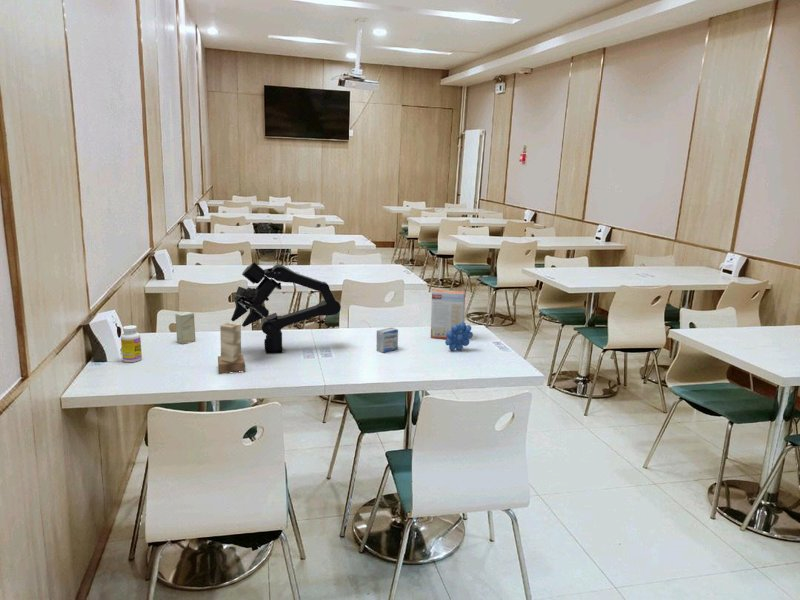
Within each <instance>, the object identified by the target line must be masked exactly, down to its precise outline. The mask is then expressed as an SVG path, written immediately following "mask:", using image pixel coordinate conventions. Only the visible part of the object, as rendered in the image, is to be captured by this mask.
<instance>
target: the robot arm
mask: <svg viewBox="0 0 800 600" xmlns="http://www.w3.org/2000/svg"><path fill="white" fill-rule="evenodd" d="M241 275H242V276H243V277H245V278H246V279H247V280H248V281H250V283H252V284H253V285H255V284H258V285H256V288H255V287H253V288H252V287H249V286H248V287H246V288H245V287H242V286H237V289H236V292H235V294H236V296H235V297H234V298H233V300H234V303H235V308H234V312H233V314H232V316H231V319H230V320H231V321H232V322H235V321H237V320H238V319H239V318H241V317H242V316H243V315H245V314H246V313H247V312H249V313H248V314H247V315H246V318H245V319H244V321H243V323H242V324H241V327H243V328H245V327H247V326H250V325H251V324H254V323H255V322H257V321H260V320H261V321H260V327H261V331H262V333H263V334H265V338H264V340H263V342H264V351H265V354H280V353H284V352H283V349H284V348H283V332H282V329H284V328H285V327H287V326H290V325H293V324H297V323H300V322H303V321H306V320H307V321H308V320H311V319H313V318H316V317H320V316H323V317H325V316H327V317H328V316H334V315H337V314H339V313H340V311H341V309H342V306H341V303H340V302H339V301H338V299H337V298H336V297H334V295H333V293H332V290H331V289H330V286H329V284H328V283H327V282H326V281H321V280H318V279H315V278H312V277H309V276H306V275H303V274H300V273H297V272H295V271H293V270H292V269H290V268H289V267H286V266H285V265H283V264H275V265H273V266H272V267H269V268H265V269H263V268H262V267H261V266H259V265H258V263H257V262H256V261H253V262H252V263H250V265H248V266H246V268H245V269H244V270H243V272H242V274H241ZM281 282H282V283H289V284H296V285H298V286H302V287H305V288H308V289H311V290H314V291H316V292H320V293H321V296H322V298H323V300H321V301H319V303H318V304H317V303H316V304H315V305H313V306H310V307H307V308H303V309H299V310H297V311H293V312H291V313H286V314H284V315H278V313H277V312H274V313H271V314H270V311H269V309H267V308H266V307H265V306H264V305H263V304H264V303H265V302H268V301H269V300H270V298H269V297H270V296H271V294H272V293H273V292H274V290H275V289H276V290H282V283H281Z"/></svg>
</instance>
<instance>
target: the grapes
mask: <svg viewBox="0 0 800 600" xmlns="http://www.w3.org/2000/svg"><path fill="white" fill-rule="evenodd" d="M451 329H452V331H448V332H447V334H446V336H447V338H448V339H445V342H444V344H445V345H446V346H448V348H449V350H450V351H455V350H456V351H462V350H463V348H464V347H467V346H469V344H470V340H471V339H472V338H473V336H474V333H473V331H472V326H471V325H470V324H469V325H468V324H466V322H465V321H464V322H462V323H460V324H459V326H458V325H456V324H455V325H453V326H452V328H451Z"/></svg>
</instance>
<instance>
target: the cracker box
mask: <svg viewBox="0 0 800 600" xmlns="http://www.w3.org/2000/svg"><path fill="white" fill-rule="evenodd" d="M430 310H431V312H430V314H431V315H430V338H431V339H438V340H439V339H441V340H446V339H448V338H447V336H446V334H447V332H448V331H452V329H451V328H452V326H453V325H455V324H456V325H458V326H459V324H460V323H462V322H464V323H465V314H466V313H465V311H466V291H462V290H461V291H460V290H448V289H447V290H446V289H433V290H432V292H431V309H430Z"/></svg>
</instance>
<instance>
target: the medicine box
mask: <svg viewBox="0 0 800 600" xmlns="http://www.w3.org/2000/svg"><path fill="white" fill-rule="evenodd" d="M398 342H399V329H398V328H396V327H395V328H394V327H388V328H383V329H379V330H376V351H377V352H380V353H381V354H385V353H389V352H393V351H396V350H399V348H398V344H399V343H398Z"/></svg>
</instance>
